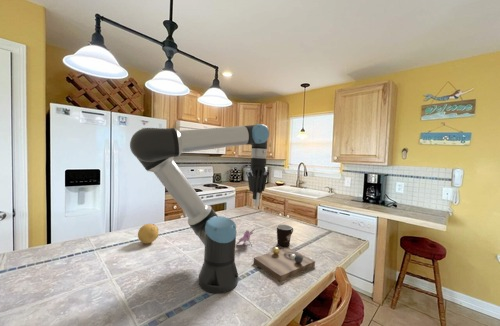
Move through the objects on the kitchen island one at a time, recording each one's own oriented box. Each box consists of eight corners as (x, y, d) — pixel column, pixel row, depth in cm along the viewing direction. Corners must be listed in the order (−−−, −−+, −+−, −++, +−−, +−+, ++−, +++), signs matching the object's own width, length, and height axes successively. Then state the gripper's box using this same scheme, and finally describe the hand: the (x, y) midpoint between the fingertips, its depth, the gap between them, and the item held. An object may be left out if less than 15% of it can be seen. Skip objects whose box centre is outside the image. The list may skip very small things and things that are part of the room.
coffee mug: (279, 248, 113) (280, 230, 113) (273, 242, 122) (274, 224, 121) (298, 247, 116) (300, 229, 116) (291, 240, 125) (292, 224, 124)
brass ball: (275, 256, 99) (276, 249, 98) (270, 253, 101) (271, 246, 101) (281, 255, 101) (281, 248, 101) (276, 252, 103) (276, 245, 103)
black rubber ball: (298, 265, 92) (299, 258, 92) (292, 262, 94) (293, 254, 94) (303, 263, 94) (304, 256, 94) (297, 260, 96) (298, 253, 96)
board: (280, 282, 83) (280, 275, 83) (253, 263, 97) (253, 257, 97) (314, 266, 97) (315, 261, 96) (286, 251, 110) (287, 247, 110)
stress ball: (135, 247, 108) (143, 239, 103) (133, 229, 113) (142, 220, 108) (154, 245, 115) (163, 237, 111) (152, 228, 120) (160, 220, 116)
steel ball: (294, 264, 98) (292, 258, 98) (289, 261, 101) (287, 256, 100) (299, 259, 100) (296, 253, 100) (293, 257, 103) (291, 251, 102)
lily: (256, 243, 121) (249, 227, 123) (264, 243, 111) (256, 225, 113) (237, 252, 116) (231, 235, 118) (244, 253, 106) (236, 235, 108)
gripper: (252, 157, 96) (250, 209, 97) (273, 158, 104) (271, 206, 105) (243, 156, 102) (240, 205, 103) (263, 157, 110) (261, 202, 111)
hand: (256, 205), depth 104 cm, fingers closed
